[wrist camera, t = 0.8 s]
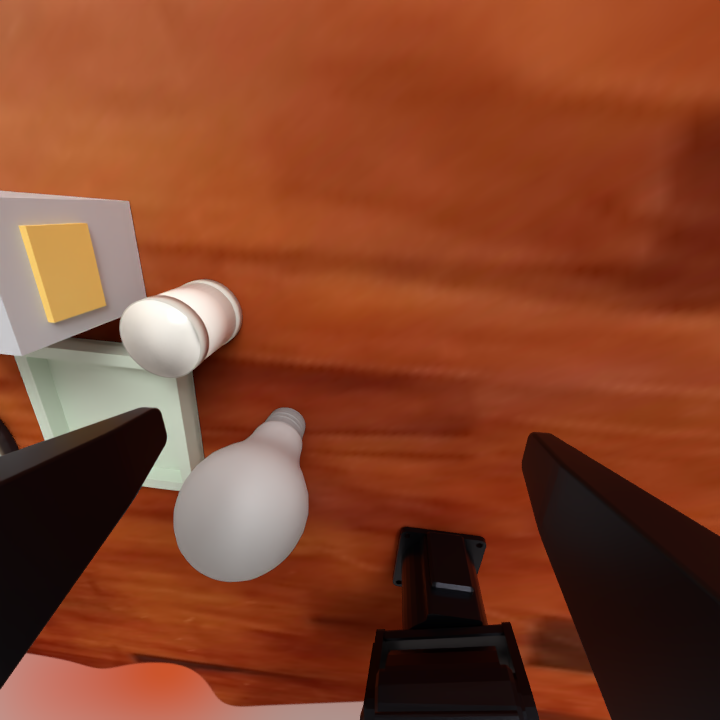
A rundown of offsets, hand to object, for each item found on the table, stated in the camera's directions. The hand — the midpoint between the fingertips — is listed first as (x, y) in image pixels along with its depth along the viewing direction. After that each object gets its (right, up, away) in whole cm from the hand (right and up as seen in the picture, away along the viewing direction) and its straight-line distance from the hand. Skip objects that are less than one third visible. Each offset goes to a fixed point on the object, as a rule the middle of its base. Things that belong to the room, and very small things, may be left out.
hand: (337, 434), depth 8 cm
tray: (-16, -2, +17) cm, 23 cm away
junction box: (-16, +8, +12) cm, 22 cm away
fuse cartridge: (-9, +5, +13) cm, 16 cm away
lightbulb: (-4, -2, +16) cm, 16 cm away
